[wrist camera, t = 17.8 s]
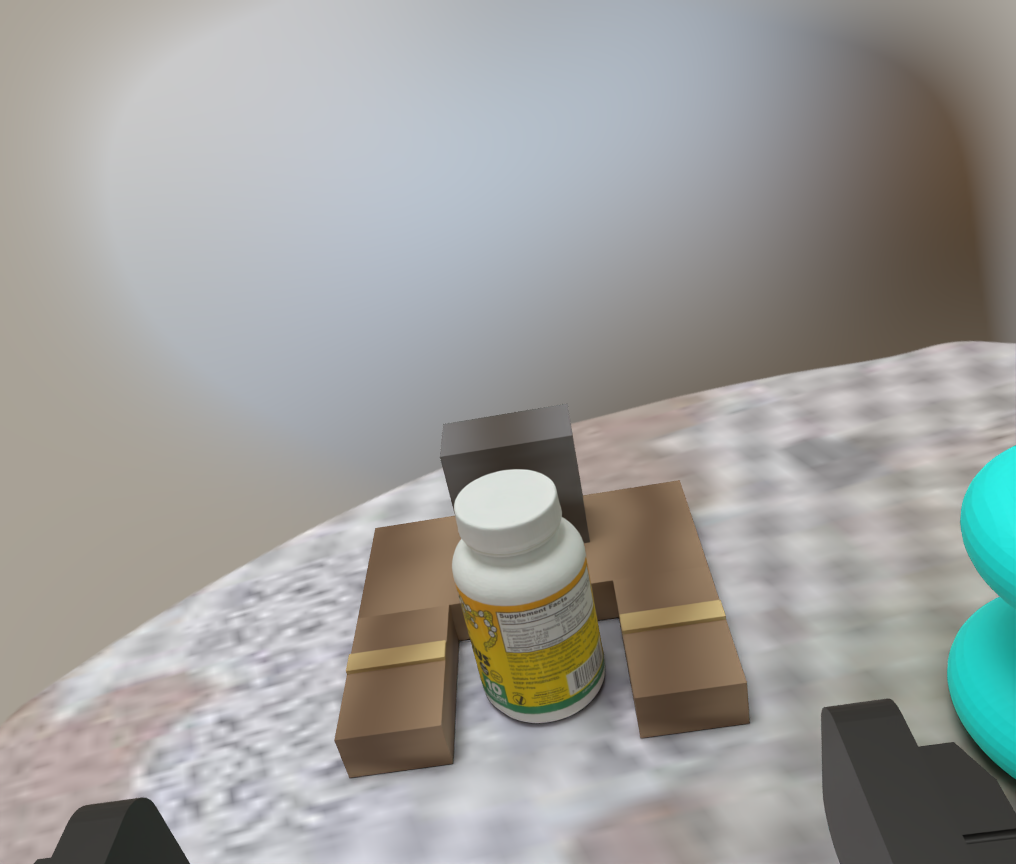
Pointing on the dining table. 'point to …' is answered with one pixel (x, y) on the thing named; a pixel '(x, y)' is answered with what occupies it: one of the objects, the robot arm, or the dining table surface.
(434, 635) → the brown grey u-shaped block
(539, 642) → the supplement bottle
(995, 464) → the donuts
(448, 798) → the dining table surface
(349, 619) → the dining table surface
